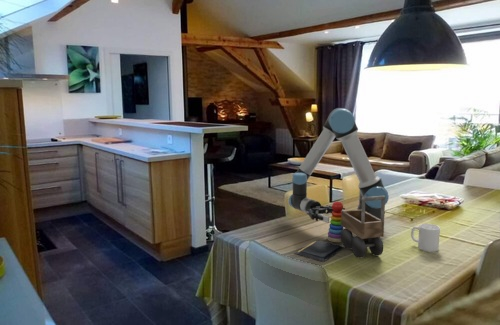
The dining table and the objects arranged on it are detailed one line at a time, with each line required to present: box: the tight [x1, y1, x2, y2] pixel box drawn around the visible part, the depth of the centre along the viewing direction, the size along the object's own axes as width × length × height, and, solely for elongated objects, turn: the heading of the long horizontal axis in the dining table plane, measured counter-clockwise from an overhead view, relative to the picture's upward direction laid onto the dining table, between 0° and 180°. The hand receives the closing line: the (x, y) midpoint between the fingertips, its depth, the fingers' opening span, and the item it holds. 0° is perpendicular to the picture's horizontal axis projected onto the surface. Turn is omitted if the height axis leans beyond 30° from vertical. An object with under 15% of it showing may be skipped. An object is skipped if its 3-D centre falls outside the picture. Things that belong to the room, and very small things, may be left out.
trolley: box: [341, 196, 386, 259], centre depth 170 cm, size 10×19×27 cm, turn 14°
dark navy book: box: [293, 240, 345, 263], centre depth 174 cm, size 20×2×15 cm
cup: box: [410, 223, 441, 253], centre depth 175 cm, size 8×12×10 cm
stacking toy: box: [326, 200, 344, 243], centre depth 185 cm, size 8×8×19 cm
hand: (339, 217), depth 183 cm, fingers open, 13 cm apart
